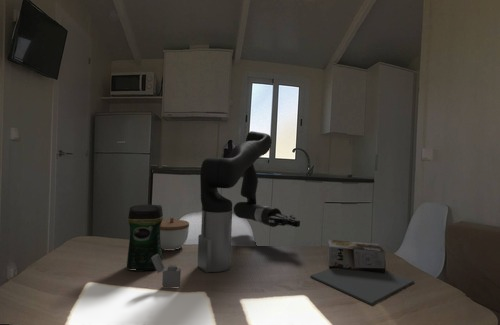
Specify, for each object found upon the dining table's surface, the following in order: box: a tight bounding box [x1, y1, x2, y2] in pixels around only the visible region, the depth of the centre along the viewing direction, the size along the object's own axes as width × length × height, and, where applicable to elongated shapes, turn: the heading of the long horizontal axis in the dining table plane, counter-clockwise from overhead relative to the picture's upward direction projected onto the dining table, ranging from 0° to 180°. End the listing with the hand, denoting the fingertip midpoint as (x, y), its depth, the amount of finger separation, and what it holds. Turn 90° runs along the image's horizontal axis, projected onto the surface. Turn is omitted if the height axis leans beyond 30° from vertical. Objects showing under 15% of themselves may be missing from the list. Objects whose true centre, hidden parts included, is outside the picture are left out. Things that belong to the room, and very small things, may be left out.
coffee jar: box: [126, 204, 164, 271], centre depth 79 cm, size 10×8×19 cm
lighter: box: [151, 254, 182, 288], centre depth 66 cm, size 7×2×8 cm, turn 91°
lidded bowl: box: [160, 217, 190, 249], centre depth 98 cm, size 13×13×11 cm
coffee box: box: [327, 239, 387, 273], centre depth 83 cm, size 9×6×16 cm
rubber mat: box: [309, 267, 415, 306], centre depth 74 cm, size 22×18×1 cm
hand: (298, 223), depth 93 cm, fingers closed
